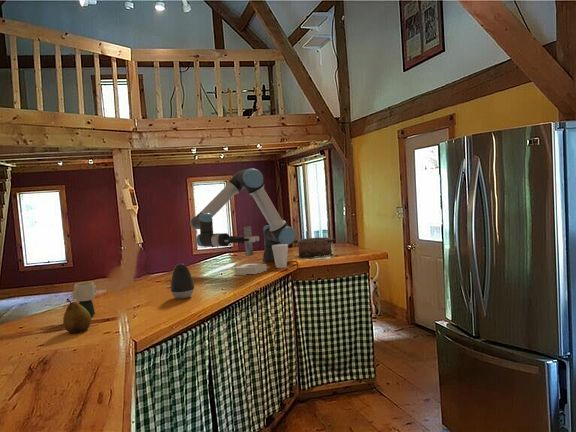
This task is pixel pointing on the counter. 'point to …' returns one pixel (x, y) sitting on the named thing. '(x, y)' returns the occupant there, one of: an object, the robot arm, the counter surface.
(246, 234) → the peg
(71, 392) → the counter surface
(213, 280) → the counter surface
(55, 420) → the counter surface
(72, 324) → the fruit
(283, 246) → the foam cup
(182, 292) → the black egg shape
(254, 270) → the socket block
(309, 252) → the cooking pot
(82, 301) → the white and green lamp
